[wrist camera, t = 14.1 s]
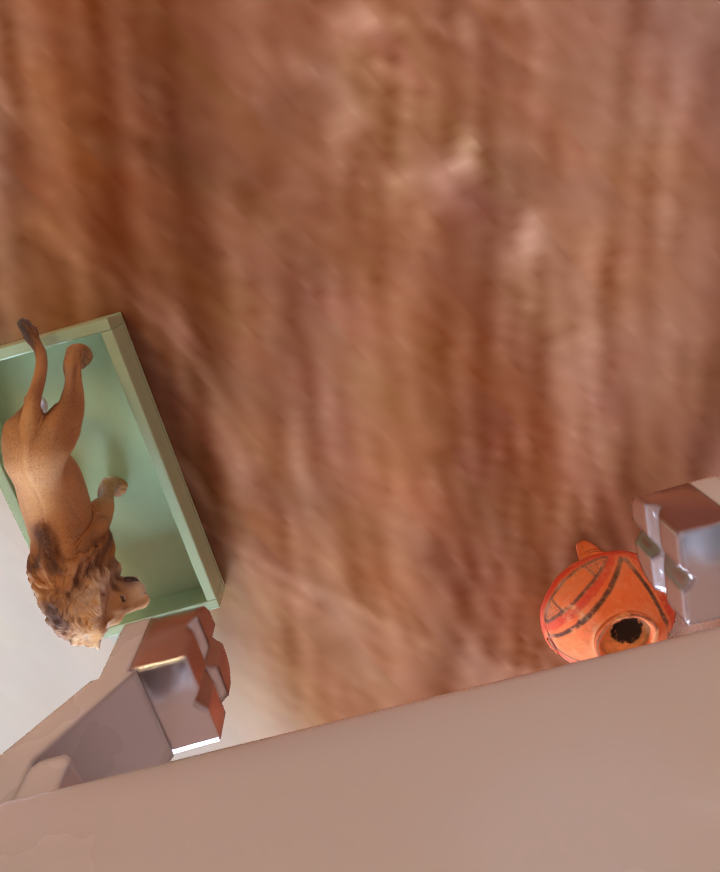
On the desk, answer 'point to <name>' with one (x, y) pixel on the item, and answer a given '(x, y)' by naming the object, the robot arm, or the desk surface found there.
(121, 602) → the lion figurine
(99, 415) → the tray
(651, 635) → the pot
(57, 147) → the desk surface
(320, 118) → the desk surface
